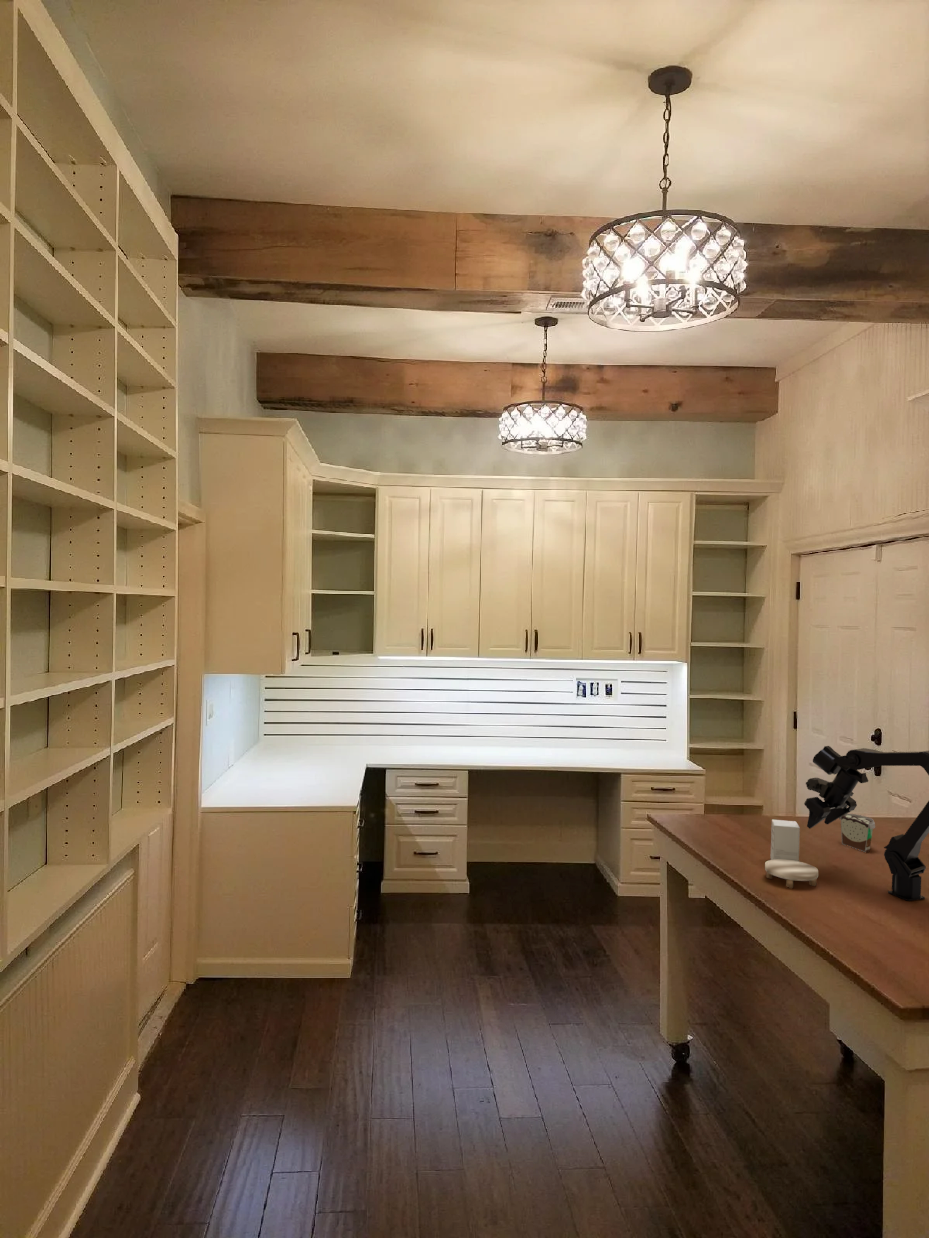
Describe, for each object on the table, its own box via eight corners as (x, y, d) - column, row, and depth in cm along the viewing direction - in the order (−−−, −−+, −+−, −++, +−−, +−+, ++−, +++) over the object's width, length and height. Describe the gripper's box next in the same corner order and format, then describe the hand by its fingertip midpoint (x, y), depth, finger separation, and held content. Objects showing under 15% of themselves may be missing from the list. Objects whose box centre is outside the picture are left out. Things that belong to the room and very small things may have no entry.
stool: (829, 887, 220) (829, 873, 220) (788, 891, 215) (789, 877, 215) (792, 870, 233) (793, 857, 233) (754, 874, 228) (754, 861, 228)
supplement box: (795, 861, 242) (797, 820, 242) (798, 869, 235) (800, 827, 235) (769, 859, 244) (771, 818, 244) (772, 866, 237) (774, 824, 237)
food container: (883, 852, 255) (884, 821, 255) (869, 853, 253) (870, 822, 252) (851, 841, 266) (852, 811, 266) (838, 842, 264) (839, 813, 264)
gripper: (837, 764, 241) (813, 803, 247) (802, 770, 230) (778, 811, 237) (868, 788, 233) (842, 828, 239) (834, 795, 222) (807, 837, 229)
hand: (817, 825), depth 236 cm, fingers open, 9 cm apart
